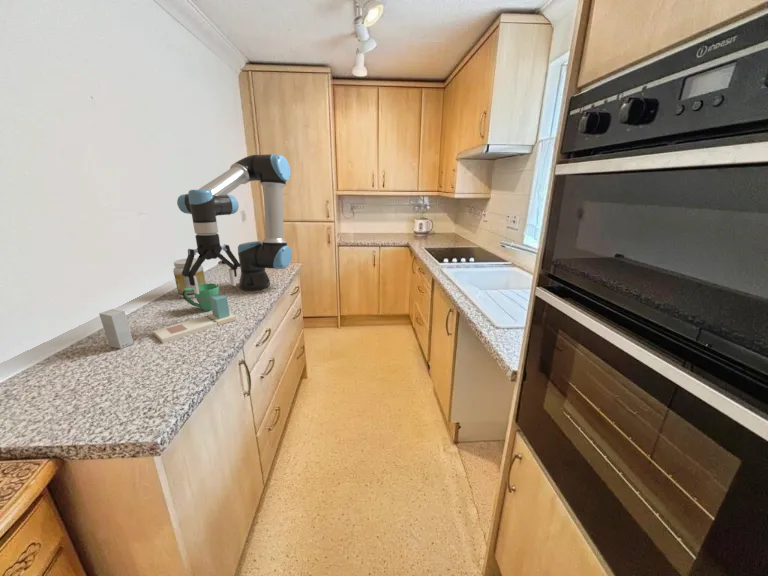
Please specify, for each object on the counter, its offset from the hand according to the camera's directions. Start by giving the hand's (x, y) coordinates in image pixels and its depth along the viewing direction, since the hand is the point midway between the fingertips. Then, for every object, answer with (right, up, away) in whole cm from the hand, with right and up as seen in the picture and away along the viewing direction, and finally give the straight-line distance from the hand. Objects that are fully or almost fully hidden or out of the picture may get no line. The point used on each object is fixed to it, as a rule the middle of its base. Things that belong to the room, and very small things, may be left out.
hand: (215, 289), depth 121 cm
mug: (-13, -9, +14) cm, 21 cm away
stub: (0, -12, +4) cm, 13 cm away
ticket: (-8, -15, -5) cm, 18 cm away
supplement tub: (-28, -3, +32) cm, 43 cm away
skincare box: (-23, -19, -16) cm, 34 cm away
